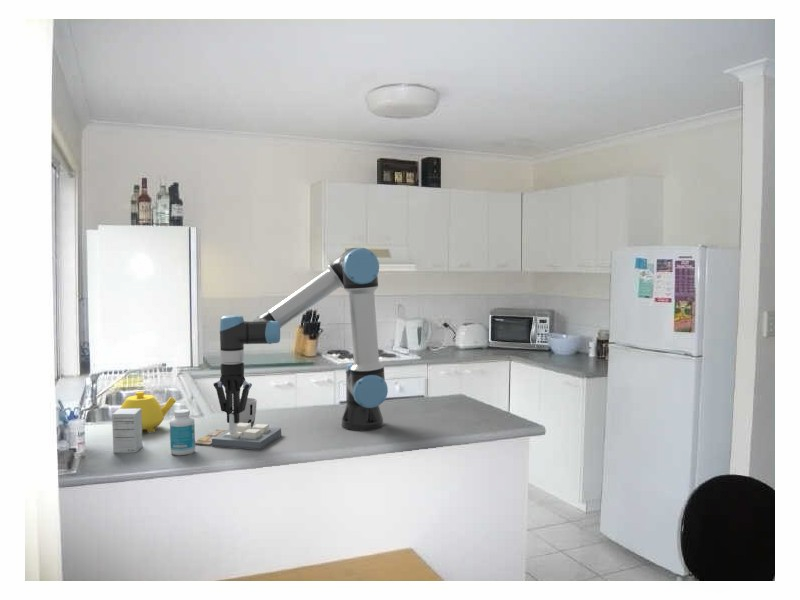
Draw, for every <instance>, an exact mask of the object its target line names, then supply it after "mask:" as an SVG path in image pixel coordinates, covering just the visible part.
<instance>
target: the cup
mask: <svg viewBox="0 0 800 600" xmlns="http://www.w3.org/2000/svg"><path fill="white" fill-rule="evenodd" d="M240 400H241V398H240ZM256 414H257V398H253V397H248V398H247V402H246V407H245V410H244V411H243V412H240V413H239V423H251V427H253V426H255V421H256ZM237 424H238V423H237Z"/></svg>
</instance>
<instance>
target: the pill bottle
mask: <svg viewBox="0 0 800 600" xmlns="http://www.w3.org/2000/svg"><path fill="white" fill-rule="evenodd" d="M173 411H174V412H173V414H174V415H173V416H174V417H172V418H171V419H170V420H169V421H170V422H169V434H170V437H169V440H170V454H172V456H173V455H174V456H187V455H190V454H193V453H194V452H195V451H196V445H195V441H196V434H195V433H196V432H195V431H196V430H195V419H194V417H192V416H190V414H191V413H190V412H191V411H190V409H186V408H185V409H183V408H182V409H175V410H173Z"/></svg>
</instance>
